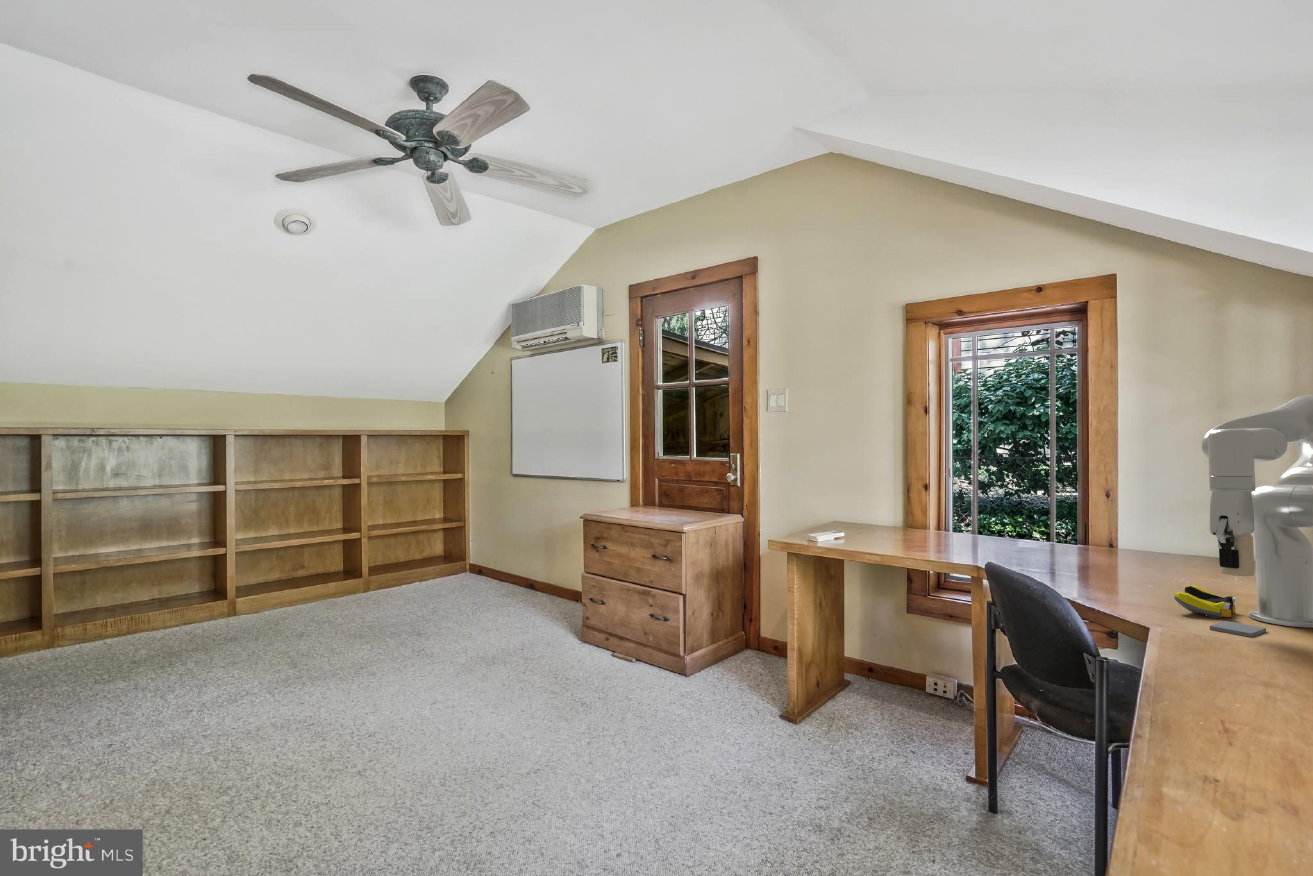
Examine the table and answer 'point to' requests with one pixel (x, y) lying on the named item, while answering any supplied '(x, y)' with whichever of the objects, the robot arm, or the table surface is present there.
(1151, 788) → the table surface
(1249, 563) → the candle
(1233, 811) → the table surface
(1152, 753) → the table surface
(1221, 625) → the grey flat block
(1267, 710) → the table surface
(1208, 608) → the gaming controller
